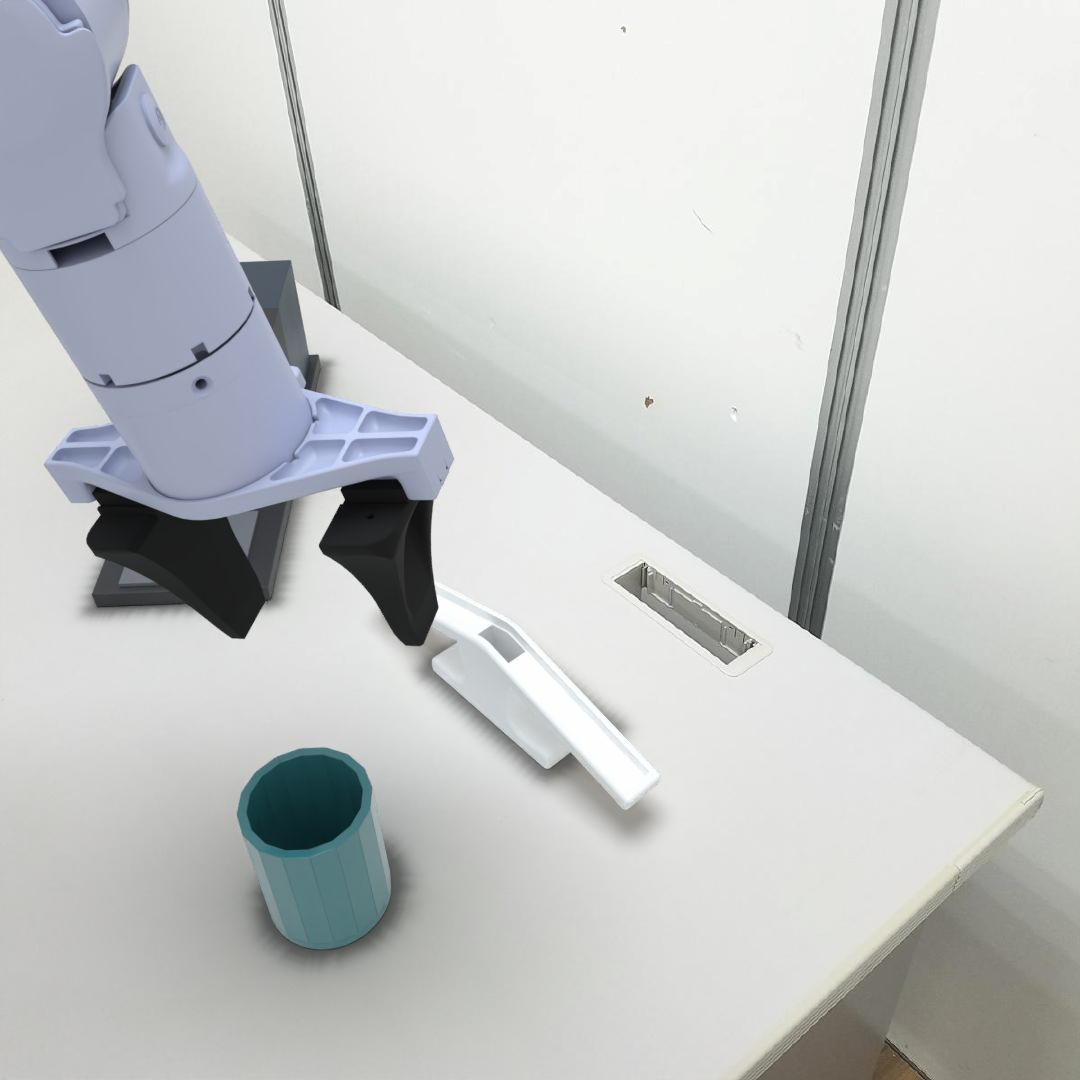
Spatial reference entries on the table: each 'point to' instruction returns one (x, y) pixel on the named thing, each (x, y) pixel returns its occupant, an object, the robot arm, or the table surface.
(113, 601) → the coffee maker
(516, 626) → the t-shaped cleat
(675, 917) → the table surface
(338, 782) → the cup
